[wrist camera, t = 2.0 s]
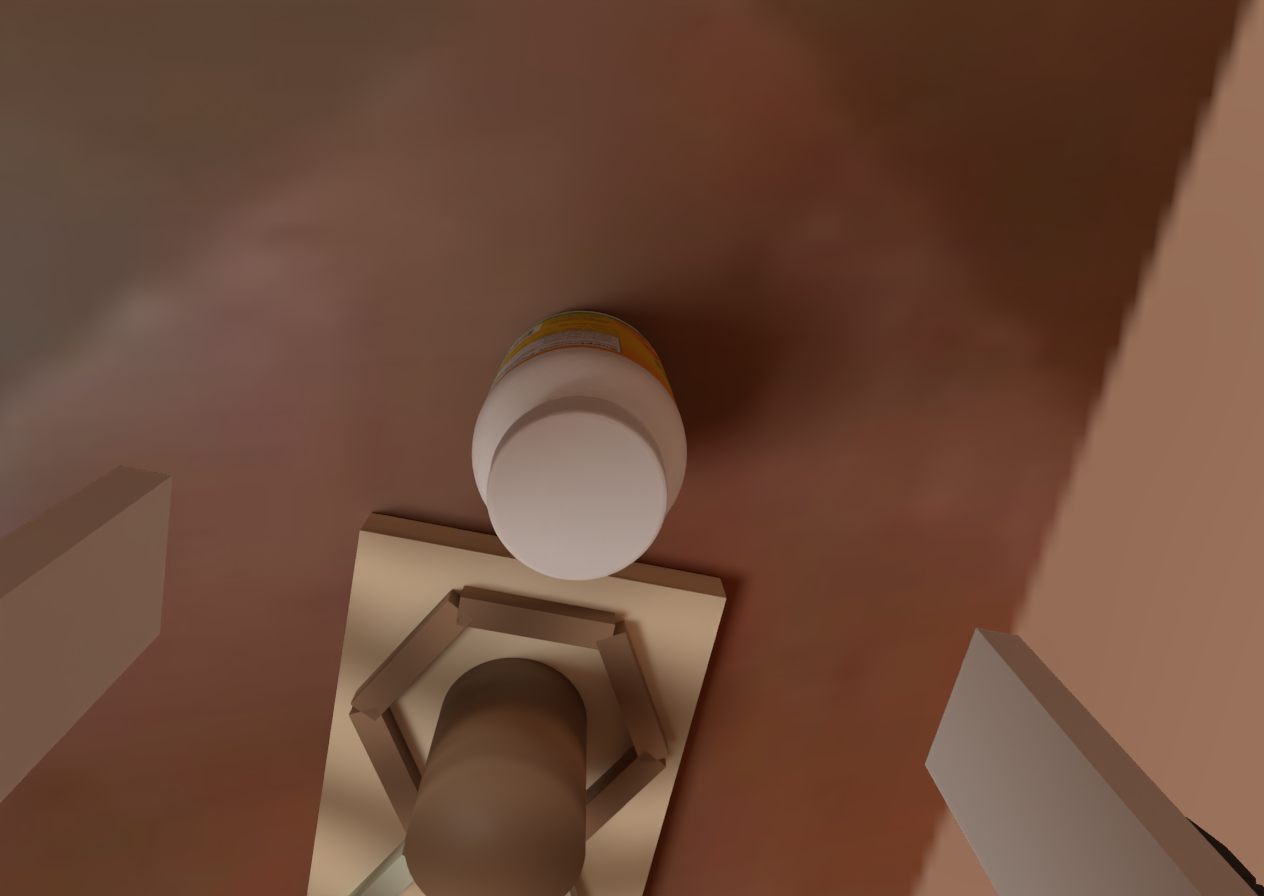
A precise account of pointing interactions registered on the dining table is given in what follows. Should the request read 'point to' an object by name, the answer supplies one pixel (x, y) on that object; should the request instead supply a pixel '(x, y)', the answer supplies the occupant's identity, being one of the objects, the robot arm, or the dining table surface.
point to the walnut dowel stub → (503, 786)
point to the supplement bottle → (579, 446)
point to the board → (492, 629)
